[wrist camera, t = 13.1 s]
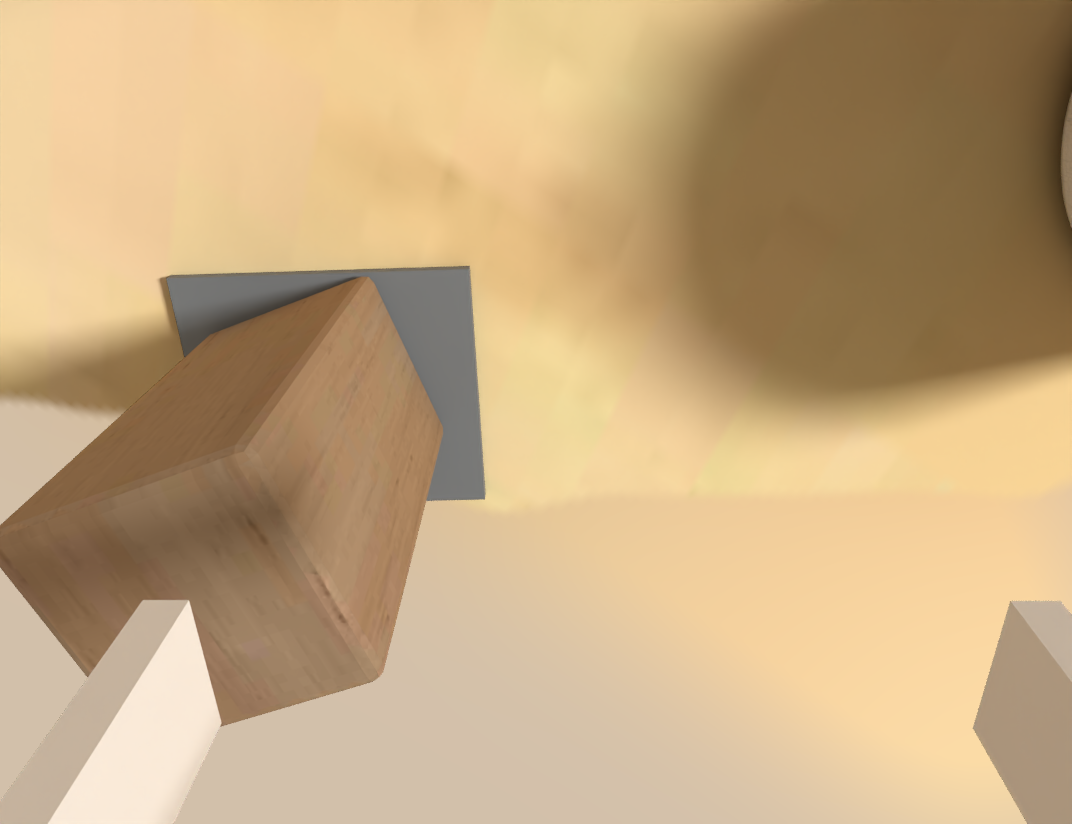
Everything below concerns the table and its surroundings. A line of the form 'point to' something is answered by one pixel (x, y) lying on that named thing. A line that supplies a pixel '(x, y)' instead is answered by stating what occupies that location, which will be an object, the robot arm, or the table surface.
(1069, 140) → the planter
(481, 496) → the mat
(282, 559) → the wooden block
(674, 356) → the table surface
